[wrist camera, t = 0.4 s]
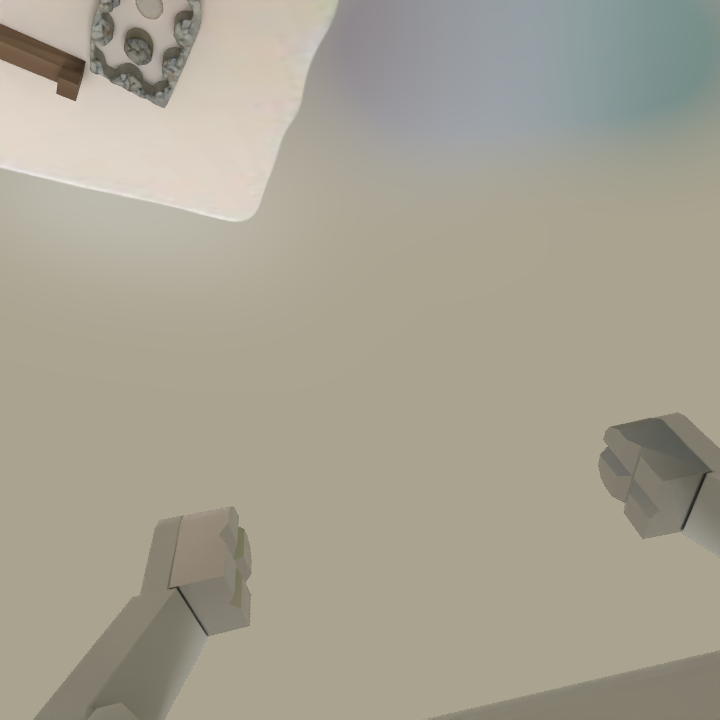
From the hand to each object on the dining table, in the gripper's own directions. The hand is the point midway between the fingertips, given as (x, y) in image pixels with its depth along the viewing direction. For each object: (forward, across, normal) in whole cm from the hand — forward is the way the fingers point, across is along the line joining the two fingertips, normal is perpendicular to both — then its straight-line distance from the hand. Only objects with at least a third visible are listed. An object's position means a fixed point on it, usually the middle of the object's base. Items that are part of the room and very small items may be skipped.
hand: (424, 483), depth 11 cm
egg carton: (+50, +12, -10) cm, 52 cm away
